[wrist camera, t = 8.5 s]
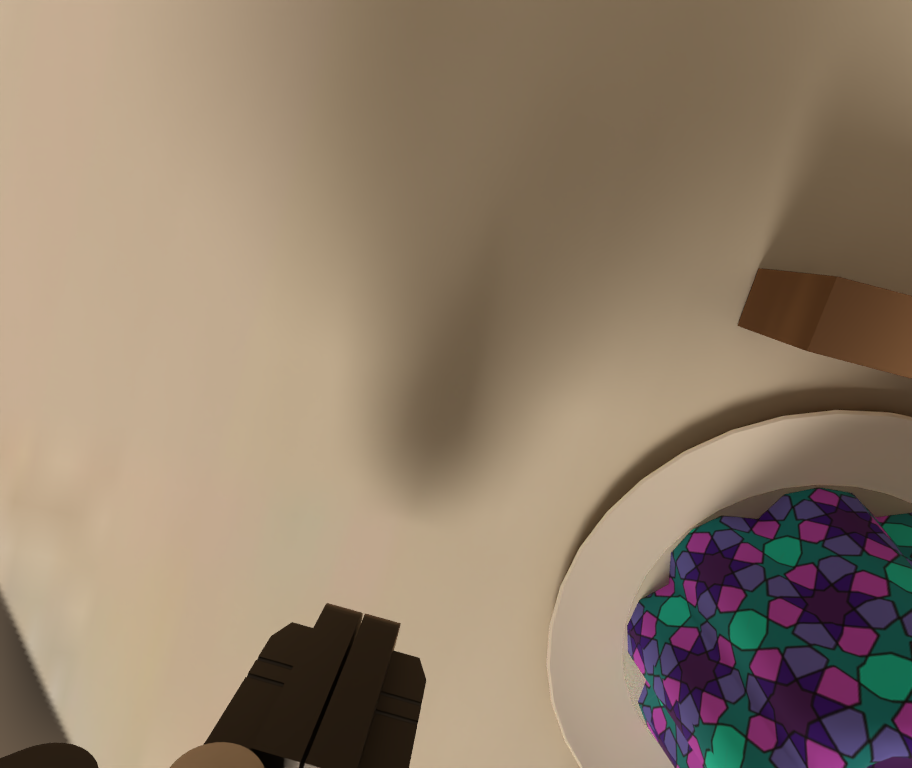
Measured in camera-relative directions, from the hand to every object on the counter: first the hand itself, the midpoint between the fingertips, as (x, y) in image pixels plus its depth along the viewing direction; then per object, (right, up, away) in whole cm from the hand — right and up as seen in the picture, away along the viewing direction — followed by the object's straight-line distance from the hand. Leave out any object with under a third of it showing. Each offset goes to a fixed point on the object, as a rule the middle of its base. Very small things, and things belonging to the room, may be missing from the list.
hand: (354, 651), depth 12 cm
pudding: (+10, -1, +3) cm, 11 cm away
